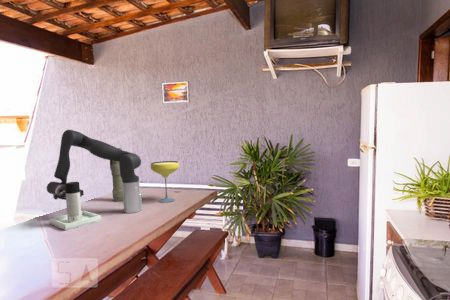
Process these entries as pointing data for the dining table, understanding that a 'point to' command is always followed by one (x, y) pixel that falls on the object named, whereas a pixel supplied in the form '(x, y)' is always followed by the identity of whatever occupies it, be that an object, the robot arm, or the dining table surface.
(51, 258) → the dining table surface
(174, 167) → the cocktail glass
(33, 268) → the dining table surface
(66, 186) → the spray can
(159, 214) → the dining table surface
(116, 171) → the olive green statue
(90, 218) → the sage tray
